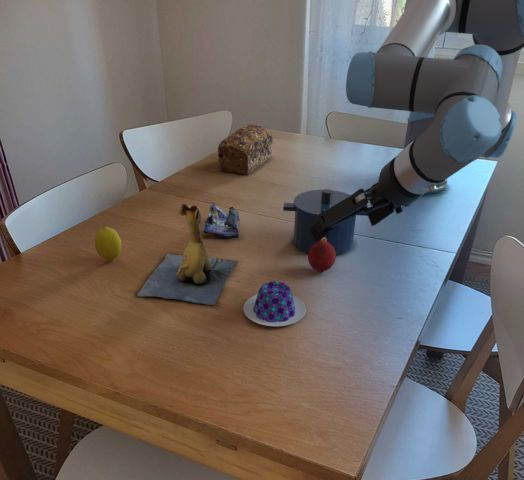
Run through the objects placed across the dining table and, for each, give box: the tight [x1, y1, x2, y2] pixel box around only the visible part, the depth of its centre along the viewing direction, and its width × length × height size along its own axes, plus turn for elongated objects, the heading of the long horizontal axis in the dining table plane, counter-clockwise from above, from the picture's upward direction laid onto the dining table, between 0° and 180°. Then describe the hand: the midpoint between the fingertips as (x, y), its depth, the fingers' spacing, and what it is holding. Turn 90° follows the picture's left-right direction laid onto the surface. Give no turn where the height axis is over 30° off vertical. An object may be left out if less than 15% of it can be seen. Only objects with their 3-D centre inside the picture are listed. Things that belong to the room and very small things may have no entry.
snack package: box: [202, 202, 241, 240], centre depth 132 cm, size 12×6×12 cm
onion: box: [307, 237, 337, 273], centre depth 115 cm, size 6×6×8 cm
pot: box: [282, 202, 368, 256], centre depth 125 cm, size 14×19×10 cm
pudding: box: [242, 280, 307, 327], centre depth 103 cm, size 12×12×5 cm
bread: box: [217, 124, 274, 176], centre depth 167 cm, size 19×11×10 cm, turn 155°
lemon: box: [94, 226, 123, 262], centre depth 118 cm, size 6×6×8 cm
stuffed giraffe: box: [136, 203, 238, 306], centre depth 110 cm, size 16×18×16 cm
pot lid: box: [293, 188, 352, 216], centre depth 122 cm, size 15×15×4 cm
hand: (343, 227), depth 105 cm, fingers open, 13 cm apart
